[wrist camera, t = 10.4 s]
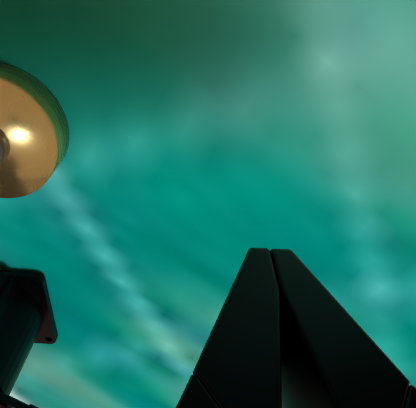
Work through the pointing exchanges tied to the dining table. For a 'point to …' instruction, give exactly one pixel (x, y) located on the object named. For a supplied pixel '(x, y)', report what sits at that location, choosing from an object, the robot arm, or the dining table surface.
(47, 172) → the gold rounded dome
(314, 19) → the dining table surface
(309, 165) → the dining table surface
